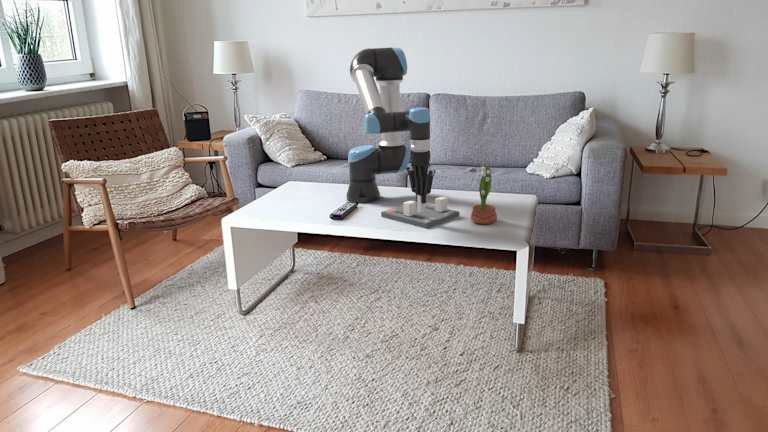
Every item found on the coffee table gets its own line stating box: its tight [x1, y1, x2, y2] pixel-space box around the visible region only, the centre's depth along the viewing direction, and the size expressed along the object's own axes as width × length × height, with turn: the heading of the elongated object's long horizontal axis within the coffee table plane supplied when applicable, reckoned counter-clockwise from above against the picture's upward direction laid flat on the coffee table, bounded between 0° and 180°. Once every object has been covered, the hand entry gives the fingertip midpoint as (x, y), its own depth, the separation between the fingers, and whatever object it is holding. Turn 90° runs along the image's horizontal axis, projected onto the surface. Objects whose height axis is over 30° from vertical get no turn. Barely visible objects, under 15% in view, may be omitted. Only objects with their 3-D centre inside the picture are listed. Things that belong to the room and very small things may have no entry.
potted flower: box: [470, 158, 498, 225], centre depth 219 cm, size 12×10×25 cm
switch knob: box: [434, 196, 448, 212], centre depth 231 cm, size 3×4×5 cm
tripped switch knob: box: [402, 200, 416, 216], centre depth 227 cm, size 3×4×5 cm
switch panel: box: [380, 201, 460, 229], centre depth 232 cm, size 24×20×2 cm
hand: (421, 211), depth 223 cm, fingers closed
